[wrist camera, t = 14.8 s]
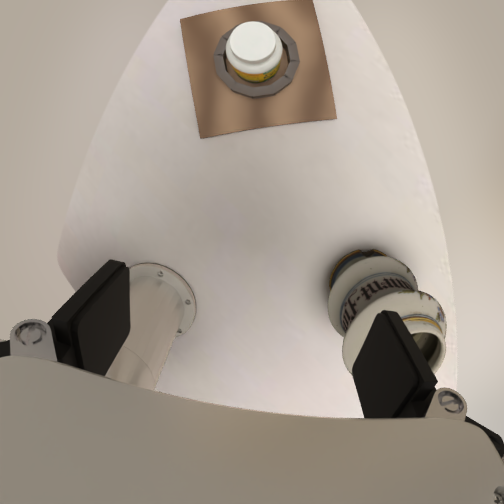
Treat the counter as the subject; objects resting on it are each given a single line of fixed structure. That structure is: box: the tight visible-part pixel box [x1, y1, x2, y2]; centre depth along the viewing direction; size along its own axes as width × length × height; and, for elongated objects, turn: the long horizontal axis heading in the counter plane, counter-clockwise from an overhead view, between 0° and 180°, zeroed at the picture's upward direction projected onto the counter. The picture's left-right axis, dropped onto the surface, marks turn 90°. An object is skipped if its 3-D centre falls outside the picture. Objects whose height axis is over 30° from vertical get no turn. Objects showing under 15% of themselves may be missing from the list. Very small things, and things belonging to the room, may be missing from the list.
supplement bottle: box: [226, 21, 282, 83], centre depth 26 cm, size 5×5×10 cm
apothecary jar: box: [328, 249, 446, 374], centre depth 33 cm, size 12×12×18 cm
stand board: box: [180, 0, 337, 138], centre depth 30 cm, size 16×16×4 cm
